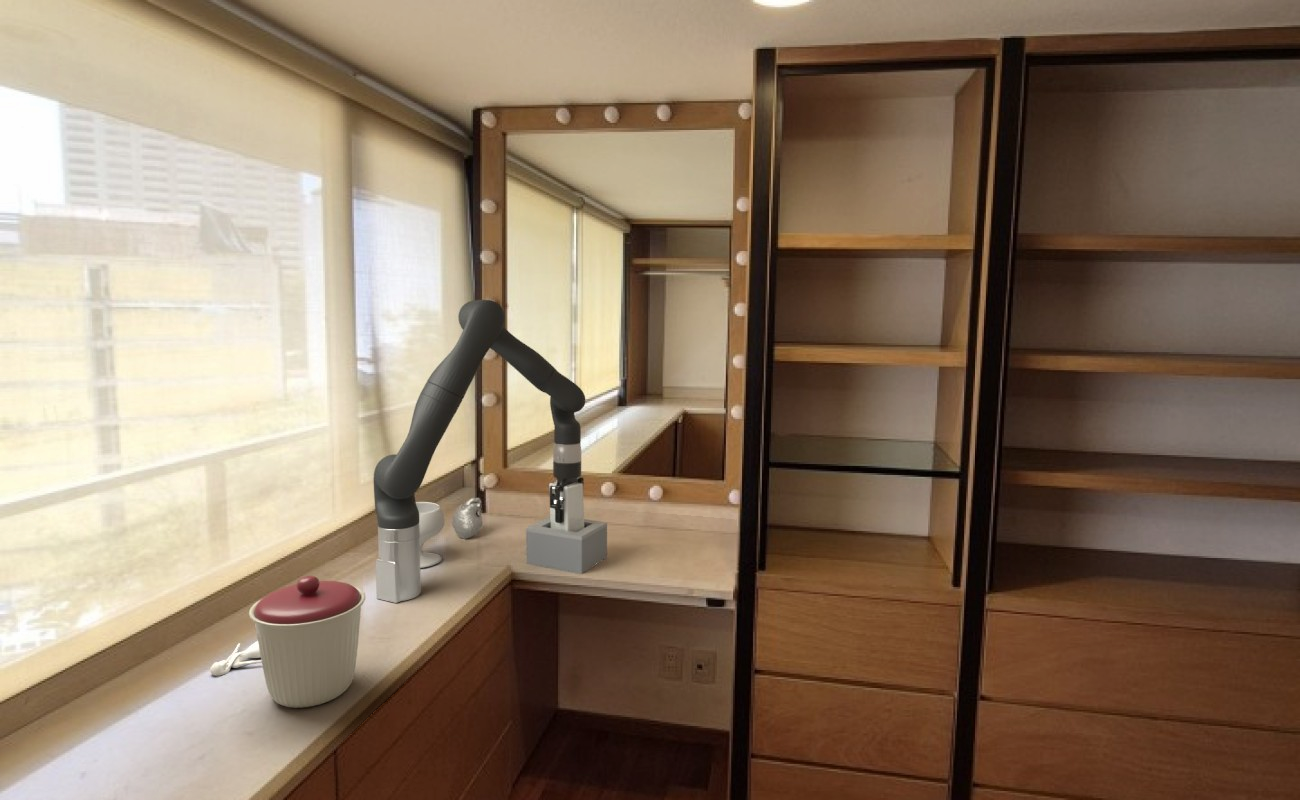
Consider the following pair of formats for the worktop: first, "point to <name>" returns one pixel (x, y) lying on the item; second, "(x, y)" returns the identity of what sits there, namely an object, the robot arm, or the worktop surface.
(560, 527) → the skincare box
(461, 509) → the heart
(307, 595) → the canister
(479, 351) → the robot arm
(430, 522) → the chalice
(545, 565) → the open gray box
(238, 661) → the woman figurine
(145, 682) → the worktop surface
